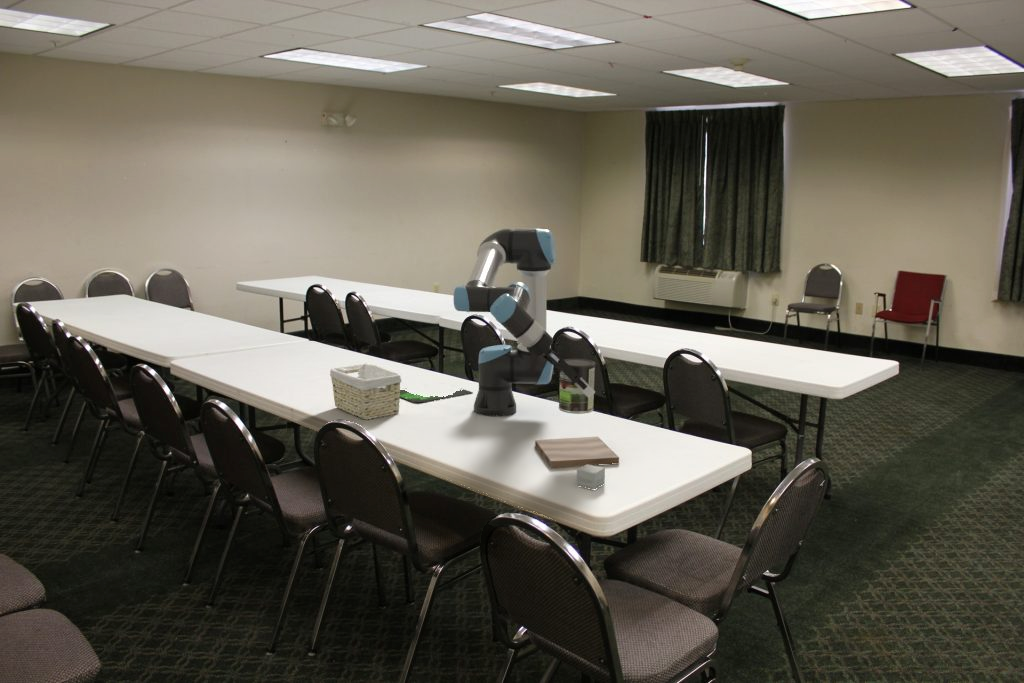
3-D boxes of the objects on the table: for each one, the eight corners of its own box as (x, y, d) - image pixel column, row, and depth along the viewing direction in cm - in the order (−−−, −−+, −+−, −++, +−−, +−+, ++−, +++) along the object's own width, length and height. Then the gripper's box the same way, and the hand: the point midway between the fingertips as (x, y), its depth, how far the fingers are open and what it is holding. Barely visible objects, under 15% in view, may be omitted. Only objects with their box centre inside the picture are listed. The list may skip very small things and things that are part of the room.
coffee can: (574, 415, 223) (575, 367, 221) (551, 408, 231) (552, 361, 229) (601, 410, 229) (602, 363, 227) (577, 403, 238) (578, 357, 235)
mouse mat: (443, 383, 323) (443, 381, 322) (476, 394, 306) (476, 391, 306) (385, 393, 305) (385, 391, 305) (416, 405, 289) (416, 402, 289)
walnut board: (535, 446, 241) (535, 440, 241) (597, 442, 245) (598, 436, 244) (551, 468, 222) (551, 461, 221) (618, 463, 226) (619, 457, 225)
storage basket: (404, 414, 276) (403, 373, 273) (363, 422, 265) (361, 380, 263) (369, 400, 294) (368, 362, 291) (329, 408, 283) (328, 368, 281)
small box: (605, 485, 209) (605, 467, 208) (594, 491, 205) (595, 473, 204) (586, 480, 213) (586, 463, 212) (575, 486, 208) (576, 469, 207)
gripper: (517, 341, 235) (567, 390, 241) (534, 356, 213) (589, 409, 219) (535, 323, 235) (584, 373, 241) (554, 336, 213) (607, 390, 219)
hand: (586, 390), depth 230 cm, fingers closed on coffee can, 10 cm apart
